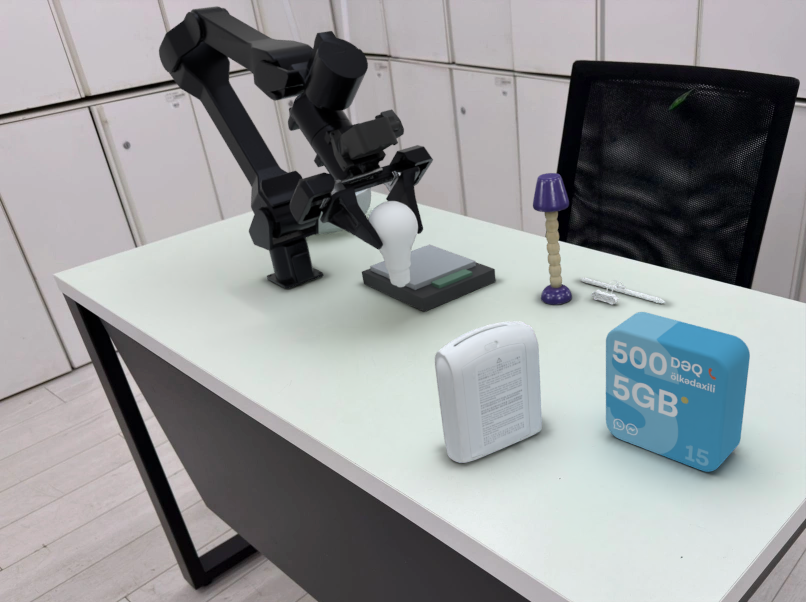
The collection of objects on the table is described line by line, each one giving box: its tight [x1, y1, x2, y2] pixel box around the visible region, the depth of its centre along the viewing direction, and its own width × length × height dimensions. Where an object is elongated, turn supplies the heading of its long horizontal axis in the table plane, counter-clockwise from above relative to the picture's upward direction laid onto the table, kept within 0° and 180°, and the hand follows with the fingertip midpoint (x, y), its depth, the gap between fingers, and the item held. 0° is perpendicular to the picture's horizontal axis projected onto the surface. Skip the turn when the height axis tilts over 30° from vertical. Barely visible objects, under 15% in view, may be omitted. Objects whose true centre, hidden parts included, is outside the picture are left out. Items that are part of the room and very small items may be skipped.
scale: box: [361, 244, 497, 312], centre depth 108 cm, size 15×13×3 cm
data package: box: [605, 311, 751, 473], centre depth 68 cm, size 12×4×12 cm, turn 50°
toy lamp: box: [532, 172, 573, 305], centre depth 97 cm, size 5×5×17 cm
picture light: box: [579, 277, 666, 306], centre depth 100 cm, size 14×4×2 cm, turn 48°
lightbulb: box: [367, 200, 418, 287], centre depth 92 cm, size 6×6×11 cm
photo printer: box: [434, 320, 543, 464], centre depth 70 cm, size 10×4×12 cm, turn 123°
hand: (401, 239), depth 91 cm, fingers closed on lightbulb, 6 cm apart
